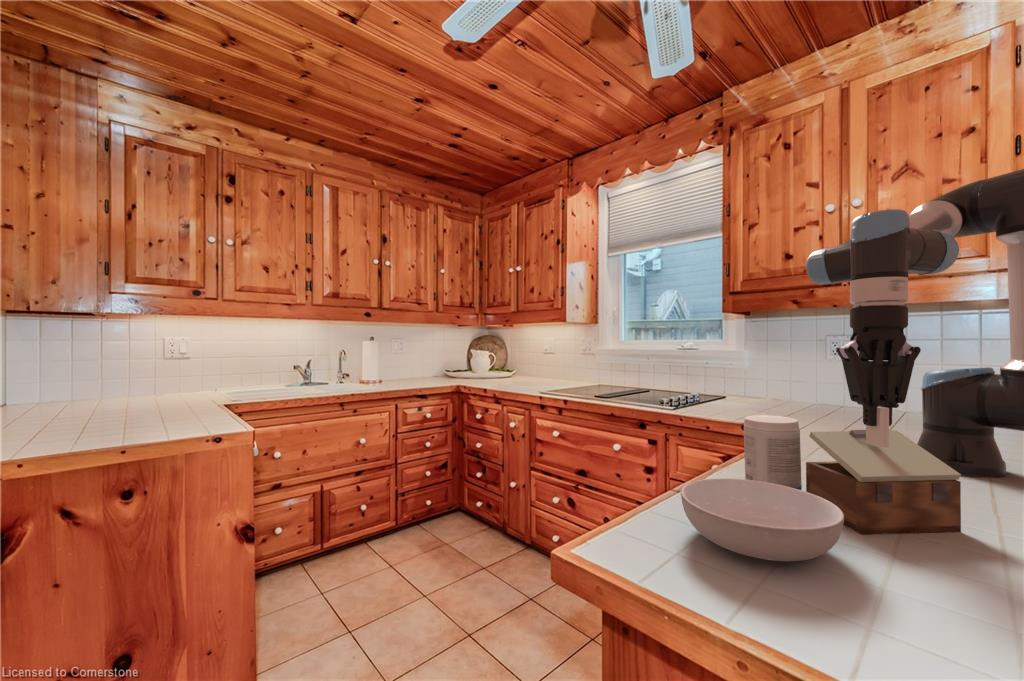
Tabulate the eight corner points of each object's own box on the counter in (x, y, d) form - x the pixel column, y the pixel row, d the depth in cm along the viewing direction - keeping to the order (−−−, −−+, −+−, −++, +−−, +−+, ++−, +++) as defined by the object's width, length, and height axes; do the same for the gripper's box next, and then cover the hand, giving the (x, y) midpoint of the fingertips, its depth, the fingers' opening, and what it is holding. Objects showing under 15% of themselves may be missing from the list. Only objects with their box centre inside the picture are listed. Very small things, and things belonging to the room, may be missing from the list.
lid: (894, 434, 79) (898, 426, 78) (958, 479, 68) (963, 470, 68) (809, 436, 78) (812, 428, 78) (860, 481, 68) (863, 472, 67)
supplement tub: (807, 493, 86) (806, 418, 86) (794, 506, 79) (793, 425, 79) (753, 481, 93) (752, 412, 93) (737, 493, 86) (736, 418, 86)
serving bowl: (874, 557, 61) (873, 507, 61) (790, 603, 50) (790, 543, 50) (734, 507, 79) (733, 469, 79) (651, 533, 68) (651, 490, 68)
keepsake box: (890, 503, 80) (890, 460, 80) (962, 532, 68) (962, 481, 68) (806, 505, 79) (806, 462, 79) (863, 535, 67) (862, 484, 67)
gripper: (859, 303, 69) (858, 451, 69) (938, 303, 70) (937, 450, 70) (823, 306, 77) (822, 440, 77) (895, 307, 77) (894, 439, 77)
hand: (877, 445), depth 73 cm, fingers closed
